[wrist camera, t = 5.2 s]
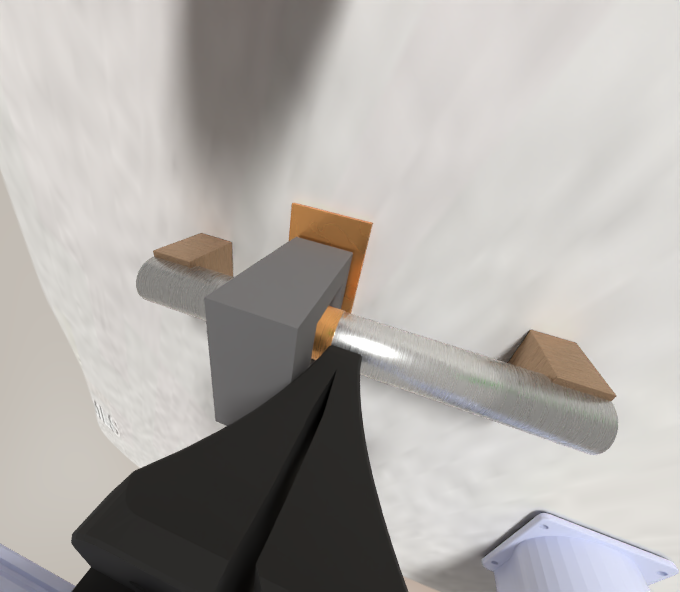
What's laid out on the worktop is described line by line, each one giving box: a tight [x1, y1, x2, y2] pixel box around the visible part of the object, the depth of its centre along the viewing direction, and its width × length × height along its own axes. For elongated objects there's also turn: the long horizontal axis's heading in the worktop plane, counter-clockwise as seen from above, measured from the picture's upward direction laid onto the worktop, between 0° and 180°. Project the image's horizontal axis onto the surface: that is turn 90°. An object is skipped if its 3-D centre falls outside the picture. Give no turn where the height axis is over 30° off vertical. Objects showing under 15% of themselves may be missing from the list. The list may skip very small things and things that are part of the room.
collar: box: [204, 237, 353, 426], centre depth 12 cm, size 3×6×7 cm, turn 169°
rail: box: [136, 203, 618, 455], centre depth 13 cm, size 20×9×4 cm, turn 79°
